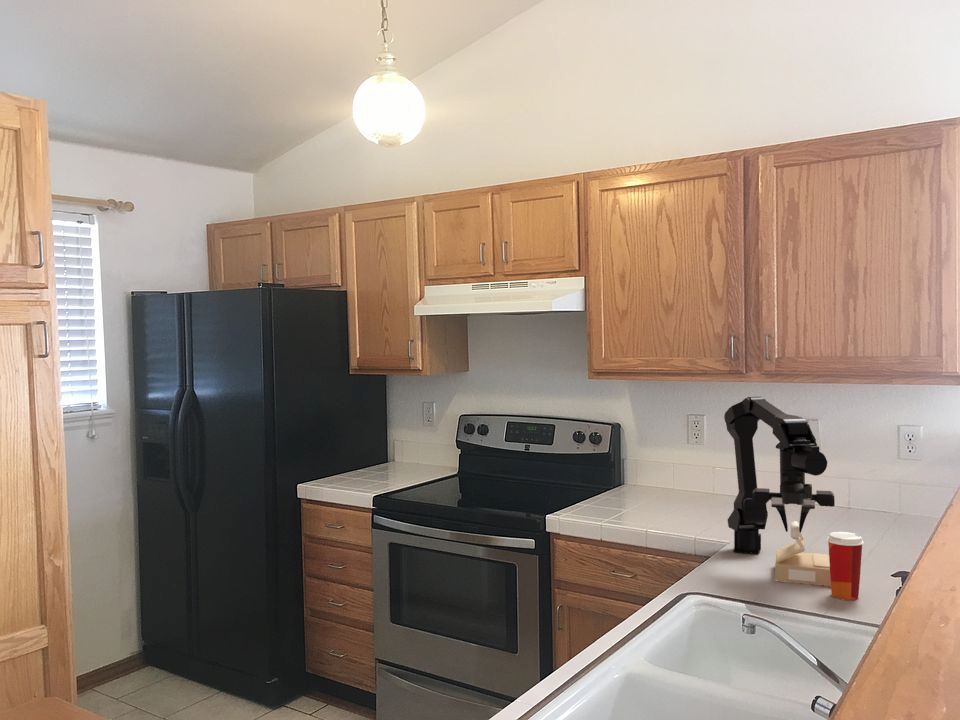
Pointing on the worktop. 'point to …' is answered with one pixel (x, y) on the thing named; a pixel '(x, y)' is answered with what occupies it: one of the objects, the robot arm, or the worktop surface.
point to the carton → (804, 569)
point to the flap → (792, 544)
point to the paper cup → (845, 564)
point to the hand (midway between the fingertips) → (793, 531)
